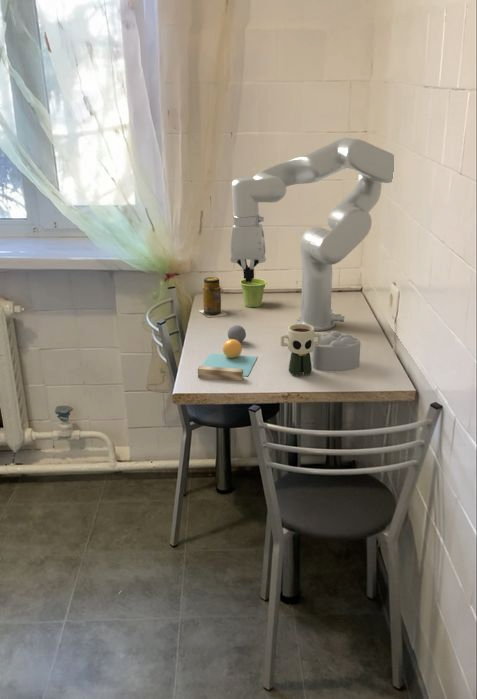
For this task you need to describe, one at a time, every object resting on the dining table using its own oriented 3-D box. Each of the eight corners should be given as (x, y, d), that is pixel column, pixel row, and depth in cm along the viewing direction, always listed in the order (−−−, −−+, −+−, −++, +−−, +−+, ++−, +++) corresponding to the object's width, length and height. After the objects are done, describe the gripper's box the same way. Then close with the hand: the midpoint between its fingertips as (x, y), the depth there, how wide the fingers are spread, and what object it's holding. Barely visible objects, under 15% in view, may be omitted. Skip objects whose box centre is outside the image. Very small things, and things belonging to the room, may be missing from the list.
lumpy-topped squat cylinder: (311, 357, 190) (312, 328, 187) (357, 357, 189) (358, 329, 186) (313, 371, 181) (314, 341, 177) (361, 372, 180) (363, 342, 177)
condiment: (217, 308, 234) (216, 275, 229) (227, 314, 226) (227, 281, 222) (198, 311, 231) (197, 277, 226) (208, 318, 223) (207, 283, 219)
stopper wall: (243, 377, 177) (243, 369, 176) (241, 380, 175) (241, 372, 174) (200, 374, 179) (199, 365, 178) (198, 377, 178) (197, 368, 177)
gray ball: (240, 325, 196) (243, 343, 197) (247, 323, 201) (249, 340, 202) (223, 327, 199) (226, 345, 199) (230, 325, 204) (233, 342, 204)
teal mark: (257, 357, 190) (257, 356, 190) (247, 376, 178) (247, 375, 178) (210, 353, 193) (210, 353, 193) (197, 372, 180) (197, 372, 180)
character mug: (281, 379, 176) (282, 333, 171) (278, 368, 182) (278, 324, 178) (322, 377, 177) (324, 331, 172) (317, 367, 183) (319, 322, 178)
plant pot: (253, 299, 242) (253, 276, 239) (271, 305, 236) (271, 281, 233) (234, 305, 236) (234, 281, 233) (252, 311, 230) (252, 286, 227)
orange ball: (241, 336, 187) (238, 354, 185) (244, 344, 192) (241, 361, 190) (222, 335, 188) (219, 353, 186) (225, 342, 193) (223, 360, 191)
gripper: (273, 218, 198) (274, 277, 205) (224, 218, 200) (227, 277, 207) (269, 223, 191) (271, 284, 198) (219, 224, 194) (222, 284, 201)
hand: (249, 280), depth 203 cm, fingers closed
